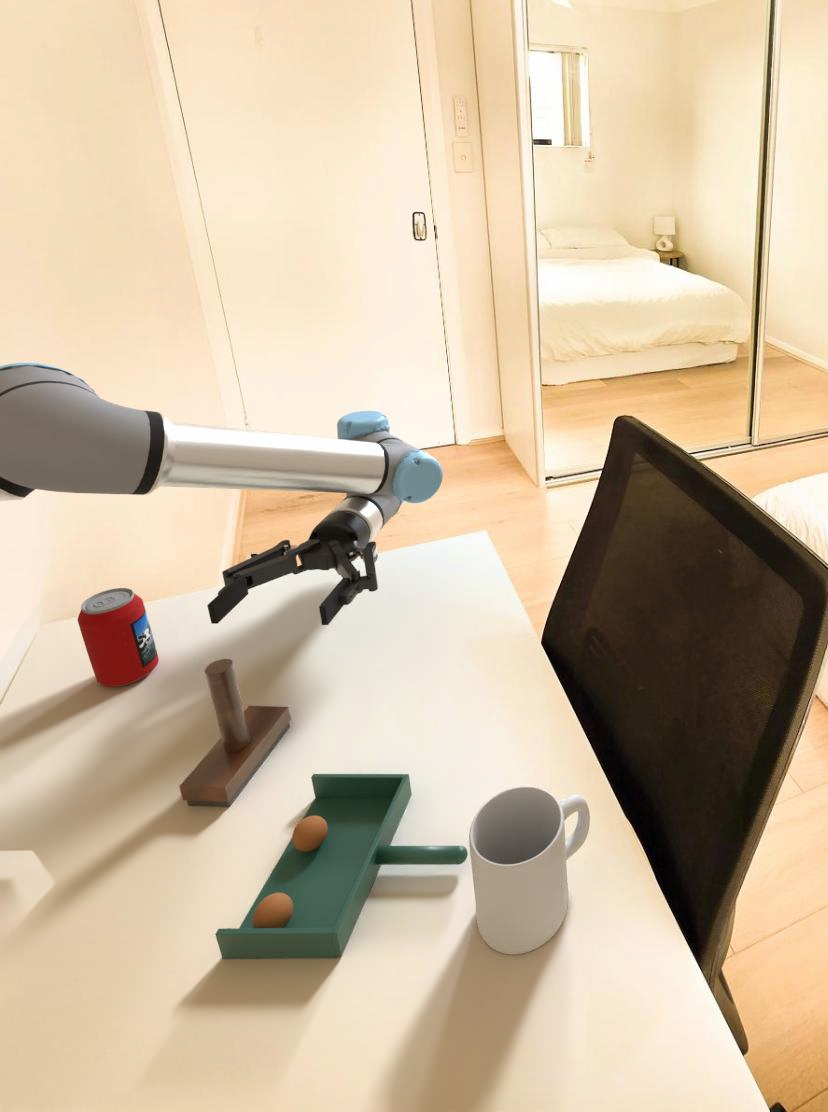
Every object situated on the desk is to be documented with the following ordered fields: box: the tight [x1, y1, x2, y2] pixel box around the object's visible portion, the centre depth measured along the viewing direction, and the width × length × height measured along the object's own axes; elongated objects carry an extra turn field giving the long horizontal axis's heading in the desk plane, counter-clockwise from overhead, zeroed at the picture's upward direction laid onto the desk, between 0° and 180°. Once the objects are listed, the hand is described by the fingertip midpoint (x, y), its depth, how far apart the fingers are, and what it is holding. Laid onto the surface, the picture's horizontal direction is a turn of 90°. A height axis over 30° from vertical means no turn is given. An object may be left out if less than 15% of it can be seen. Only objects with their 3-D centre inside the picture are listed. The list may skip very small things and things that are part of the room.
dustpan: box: [214, 773, 469, 960], centre depth 69 cm, size 19×17×3 cm
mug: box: [468, 785, 591, 955], centre depth 65 cm, size 12×8×11 cm
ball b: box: [291, 816, 328, 852], centre depth 71 cm, size 3×3×3 cm
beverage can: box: [77, 587, 160, 687], centre depth 92 cm, size 7×7×12 cm
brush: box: [178, 658, 292, 808], centre depth 79 cm, size 5×12×14 cm, turn 179°
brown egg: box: [252, 893, 293, 928], centre depth 63 cm, size 3×3×3 cm
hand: (267, 615), depth 86 cm, fingers open, 13 cm apart
